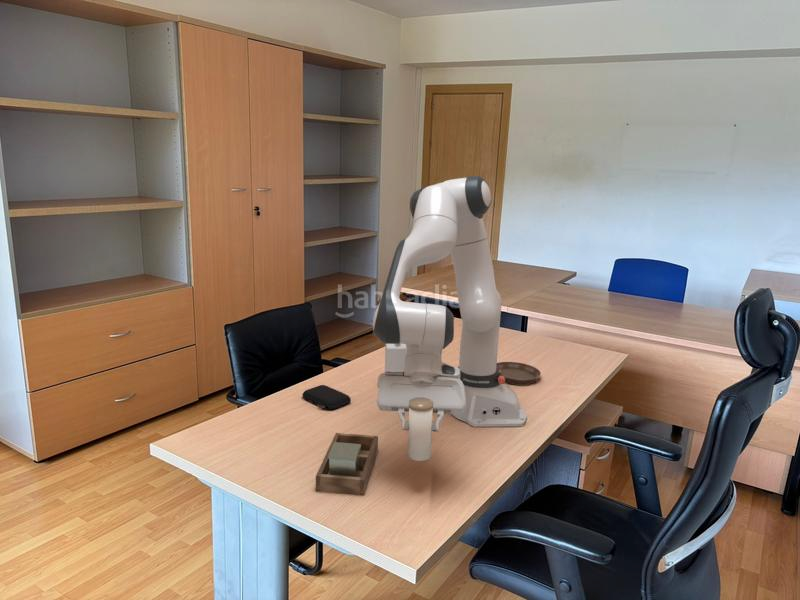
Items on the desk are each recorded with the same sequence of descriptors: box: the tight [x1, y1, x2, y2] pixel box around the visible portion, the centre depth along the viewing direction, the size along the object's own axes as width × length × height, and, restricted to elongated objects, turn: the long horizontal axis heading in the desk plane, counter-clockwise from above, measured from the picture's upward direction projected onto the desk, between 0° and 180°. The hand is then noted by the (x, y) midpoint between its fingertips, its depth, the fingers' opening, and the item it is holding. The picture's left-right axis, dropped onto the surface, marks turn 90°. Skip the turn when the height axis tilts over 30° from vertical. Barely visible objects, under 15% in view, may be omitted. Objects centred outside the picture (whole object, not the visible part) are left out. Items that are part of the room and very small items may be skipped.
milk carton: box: [384, 343, 407, 377], centre depth 189 cm, size 7×7×19 cm
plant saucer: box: [496, 361, 541, 386], centre depth 203 cm, size 18×18×3 cm
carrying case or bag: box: [301, 384, 352, 411], centre depth 178 cm, size 11×3×15 cm
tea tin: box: [328, 442, 361, 477], centre depth 132 cm, size 6×6×8 cm
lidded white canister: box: [407, 397, 434, 462], centre depth 127 cm, size 5×5×13 cm
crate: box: [315, 432, 379, 496], centre depth 137 cm, size 11×21×5 cm, turn 174°
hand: (420, 430), depth 126 cm, fingers closed on lidded white canister, 5 cm apart
